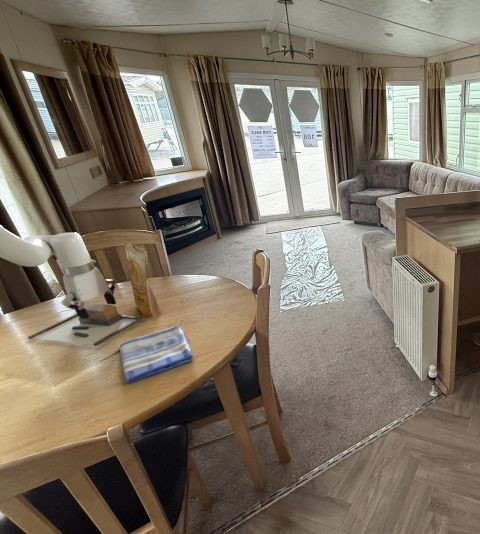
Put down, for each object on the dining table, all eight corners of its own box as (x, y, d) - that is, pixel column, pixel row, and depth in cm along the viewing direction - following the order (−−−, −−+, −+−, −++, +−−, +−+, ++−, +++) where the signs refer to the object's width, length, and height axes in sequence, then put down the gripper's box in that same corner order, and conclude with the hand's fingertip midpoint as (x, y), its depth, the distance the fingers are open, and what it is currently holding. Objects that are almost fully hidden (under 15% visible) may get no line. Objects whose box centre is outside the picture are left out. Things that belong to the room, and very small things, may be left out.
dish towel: (183, 329, 124) (180, 322, 123) (196, 360, 108) (193, 353, 107) (120, 348, 113) (117, 341, 112) (125, 386, 97) (121, 379, 96)
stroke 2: (74, 335, 117) (73, 333, 117) (77, 333, 118) (76, 331, 117) (85, 337, 116) (84, 335, 116) (88, 335, 117) (88, 334, 116)
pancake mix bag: (154, 299, 143) (131, 236, 131) (168, 315, 132) (146, 248, 121) (133, 305, 138) (108, 240, 126) (147, 322, 127) (121, 253, 116)
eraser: (80, 323, 124) (73, 309, 121) (94, 316, 128) (88, 302, 126) (109, 326, 122) (103, 312, 120) (122, 318, 127) (117, 305, 125)
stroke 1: (72, 329, 120) (71, 327, 120) (75, 328, 121) (74, 326, 121) (86, 329, 120) (86, 327, 120) (89, 328, 121) (88, 326, 121)
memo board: (29, 340, 115) (27, 336, 114) (83, 314, 131) (81, 311, 130) (97, 348, 113) (95, 344, 112) (144, 320, 128) (142, 317, 127)
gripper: (95, 258, 125) (113, 298, 132) (40, 278, 109) (63, 322, 116) (113, 259, 124) (130, 299, 131) (60, 280, 108) (82, 324, 116)
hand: (98, 310), depth 124 cm, fingers open, 9 cm apart
